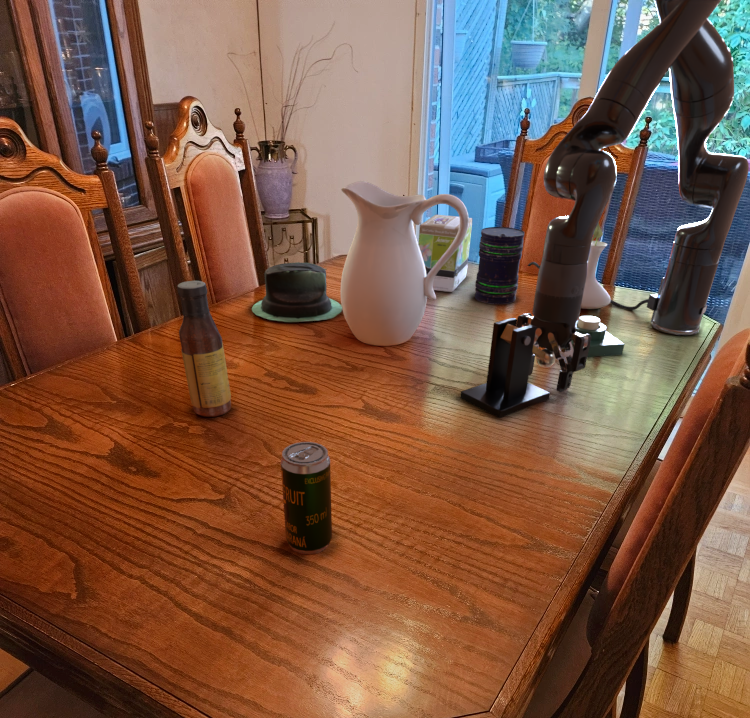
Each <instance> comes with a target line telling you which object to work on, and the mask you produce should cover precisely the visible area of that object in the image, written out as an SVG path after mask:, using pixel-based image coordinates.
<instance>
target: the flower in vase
mask: <svg viewBox="0 0 750 718" xmlns="http://www.w3.org/2000/svg"><path fill="white" fill-rule="evenodd" d="M603 235H604V233H603V231H602V228H601V226H600V221H599V222H598V224H597V227H596V229H595V231H594V234H593V237H592V243H591V248H590V253H589V258H588V264H587V277H586V282H585V288H584V293H583V298H582V303H581V308H580V309H583V310H597V309H598V310H599V309H602V308H605V307H607V306H608V305H609V304H611V303H610V302H611V300H612V299H611V295H610V294H609V293H608V292H607V291H608V290H606V289H605V287H604V286H602V285H601V284H600V282H599V281H598V280H597V277H596V272H597V267H598V262H599V259H600V256H601V254H602V253H603V251H604V249H606V247H607V246H608V243H607V242H604V241H600V240H599V239H600V238H601V237H602V236H603ZM594 239H595V240H594Z"/></svg>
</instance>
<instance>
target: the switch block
mask: <svg viewBox="0 0 750 718" xmlns="http://www.w3.org/2000/svg"><path fill="white" fill-rule="evenodd" d="M578 321H579V319H578V320H577V322H576V324H575V328H576V332H577V333H580V334H582V335H585V334H590V335H591V342H590V347H589V352H588V357H587V358H595V357H609V356H610V357H611V356H623V352H624V350H625V349H624V348H625V345H626V344H625V343H624V342H623V341H621V340H620V339H619V338H617V337H615V336H614V335H612V334H611V333H610V332H608V331H607V326H606V325H605V324H604V323H602V322H600V323H599V328H598V329H597V330H588V329H582V328H579V327H578ZM571 343H572V346H573V343H574V342H573V340H572V341H571ZM563 350H565V348H564V349H563ZM573 350H574V346H573Z"/></svg>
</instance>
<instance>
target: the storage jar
mask: <svg viewBox="0 0 750 718" xmlns="http://www.w3.org/2000/svg"><path fill="white" fill-rule="evenodd" d="M480 235H481V236H480V241H479V247H478V248H479V249H478V257H479V259H478V268H477V273H476V278H475V279H476V280H475V284H474V286H475V289H474V291H475V293H474V299H475V300H476V301H478V302H480V303H484V304H489V305H509V304H512V303H514V302H515V301H516V298H517V297H516V294H517V291H518V288H519V268H520V261H521V259H522V256H523V250H524V238H525V231H524V230H522V229H518V228H514V227H506V226H490V227H488V226H487V227H484V228H482V229H481V231H480Z"/></svg>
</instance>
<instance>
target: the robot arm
mask: <svg viewBox="0 0 750 718" xmlns="http://www.w3.org/2000/svg"><path fill="white" fill-rule="evenodd" d="M721 1H722V0H654V4H655V7H656V11H657V15H658V19H659V24H657V25H656V26H654V28H653V29H652V30H650V32H648V33H647V34H646V35H644V37H642V38H641V39H640V40H639V41H637V43H635V44H634V45H633V46H632V47H630V48H629V50H627V51H626V52H625V53H624V54H623V55H622V56H621V57H620V58H619V60H618V61H616V62H615V64H614V65H613V66H612V68H611V69H610V71H609V72H608V74H607V75H606V77H605V79H604V81H603V82H602V84H601V86H600V88H599V89H598V92H597V93H596V95H595V97H594V99H593V101H592V103H591V104H590V106H589V108H588V110H587V111H586V113H585V114H584V115H583V116H581V118H580V119H579V120H578V121H577V122H576V123H575V124H574V126H572V128H571V129H570V130H569V132H567V133H566V135H565V136H564V137H562V139H561V140H560V141H559V143H558V144H557V145H556V147H555V148H554V149H553V150H552V152H551V154H550V155H549V157H548V160H547V161H546V164H545V168H544V170H543V171H544V172H543V186H544V189H545V191H546V192H547V193H548V195H550V196H551V197H553V198H556V199H559V200H564V201H565V200H566V201H569V202H570V201H571V202H574V204H573V207H572V210H571V211H570V213H569V214H568V215H567V216H566V215H565V216H558V217H555V218H553V219H551V220H550V221H549V223H548V225H547V226H546V227H547V228H546V233H545V236H544V237H545V238H544V244H543V250H542V257H541V260H540V261H541V262H540V264H538V263H537V262H535V261H531V262H529V263H528V264H527V267H531V266H535V267H536V268H537V269H538V272H537V279H536V284H535V293H534V298H533V305H532V313H531V312H528V313H523V314H521V315H518V316H517V317H516V319H517V324H516V327H518V328H522V327H525V326H529V325H534V326H536V332H535V338H534V346H536V347H537V348H539V349H540V348H541V349H548V350H549V351H551V352H554V355H555V358H556V361H558V365H559V367H560V370H559V373H558V378H557V383H556V389H555V390H556V391H557V392H558V393H562V392H565V391H567V390H568V389H569V388H570V387H571V384H572V380H573V375H574V373H576V372H579V371H581V370H583V369H585V368H586V366H587V361H588V358H589V357H588V352H589V347H590V342H591V335H590V334H585V335H582V334H580V333H577V332H576V328H575V324H576V322H577V320H579V317H580V313H581V309H582V308H581V303H582V298H583V293H584V288H585V282H586V277H587V264H588V258H589V253H590V248H591V243H592V238H593V237H594V235H593V234H594V231H595V229H596V227H597V224H598V222H599V223H600V220H601V218H602V216H603V213H604V211H605V208H606V207H607V204H608V202H609V201H610V198H611V196H612V195H613V194H612V193H613V192H614V190H615V186H616V182H617V165H616V161H615V159H614V158H613V156H612V155H611V153H609V152H607V151H604V150H602V149H604V148H608V147H612V146H617V145H620V144H622V143H624V142H626V140H627V139H628V138H629V136H630V135H631V133H632V132H633V130H634V129H635V127H636V125H637V123H638V121H639V120H640V118H641V116H642V114H643V112H644V111H645V109H646V107H647V106H648V105H649V104H648V103H649V101H650V100H651V98H652V96H653V95H654V93H655V91H656V90H657V88H658V87H659V85H660V83H661V82H662V81H663V79H664V77H665V76H666V74H667V73H668V71H669V82H670V94H671V100H672V108H673V114H674V120H675V129H676V138H677V150H678V155H677V156H678V159H677V160H678V165H677V167H678V192H679V196H680V199H681V201H682V202H683V203H685V204H687V205H689V206H694V207H700V208H705V209H711V212H710V214H709V216H708V217H707V218H706V219H704V220H702V221H698V222H693V223H688V224H684V225H681V226H679V227H678V228H677V230H676V232H675V236H674V239H673V243H672V247H671V251H670V255H669V258H668V262H667V267H666V270H665V274H664V277H662V278H661V280H660V284H659V288H658V291H657V293H652V294H649V296H648V298H647V299H643V300H641V301H640V302H638V303H637V304H636V305H635V306H634V305H633V306H628V305H623V304H621V303H618V302H616V301H615V300H613V299H611V302H610V303H609V304H612V305H614V306H616V307H617V308H621V309H624V310H627V311H635V310H637V309H639V308H640V307H641V306H642V305H644V304H646V308H648V309H649V310H651V311H652V315H651V318H650V322H651V326H652V327H653V329H655V330H656V331H659V332H661V333H665V334H669V335H674V336H691V335H692V336H693V335H696V334H698V333H699V332H700V328H701V323H702V319H703V316H704V314H705V313H706V311H707V308H708V305H707V303H708V299H709V296H710V294H711V290H712V286H713V283H714V279H715V276H716V273H717V269H718V266H719V263H720V259H721V257H722V253H723V249H724V247H725V243H726V239H727V236H728V234H729V232H730V229H731V226H732V224H733V220H734V217H735V215H736V211H737V209H738V206H739V203H740V200H741V197H742V194H743V191H744V189H745V186H746V184H747V183H746V182H747V181H748V175H749V169H750V166H749V161H748V159H747V157H745V156H742V155H734V154H726V153H716V152H715V153H714V152H710V151H708V149H707V145H706V144H707V143H706V142H707V140H708V139H709V137H710V135H711V134H712V133H713V131H714V130H715V129H717V127H718V126H719V124H720V123H721V121H722V120H723V119H724V117H725V116H726V115H727V114H728V111H729V110H730V108H731V106H732V103H733V101H734V96H735V74H734V73H735V71H734V69H735V68H734V67H735V66H734V59H733V56H732V52H731V50H730V48H729V47H728V45H727V43H726V42H725V40H724V38H723V37H722V36H721V34H720V32H719V31H718V30H717V29H716V28H715V26H714V25H713V23H712V22H711V20H709V17H710V16H711V15H712V13H714V11H715V10H716V8H717V7H718V5H719V4H720V3H721ZM572 340H573V342H574V343H573V346H574V350H573V346H572V343H571V341H572ZM564 348H565V349H564ZM562 350H564V352H563V351H562ZM535 360H536V355H535V354H533V353H532V357H531V363H530V370H529V376H531V375H532V374H533V372H534V367H535Z"/></svg>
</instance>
